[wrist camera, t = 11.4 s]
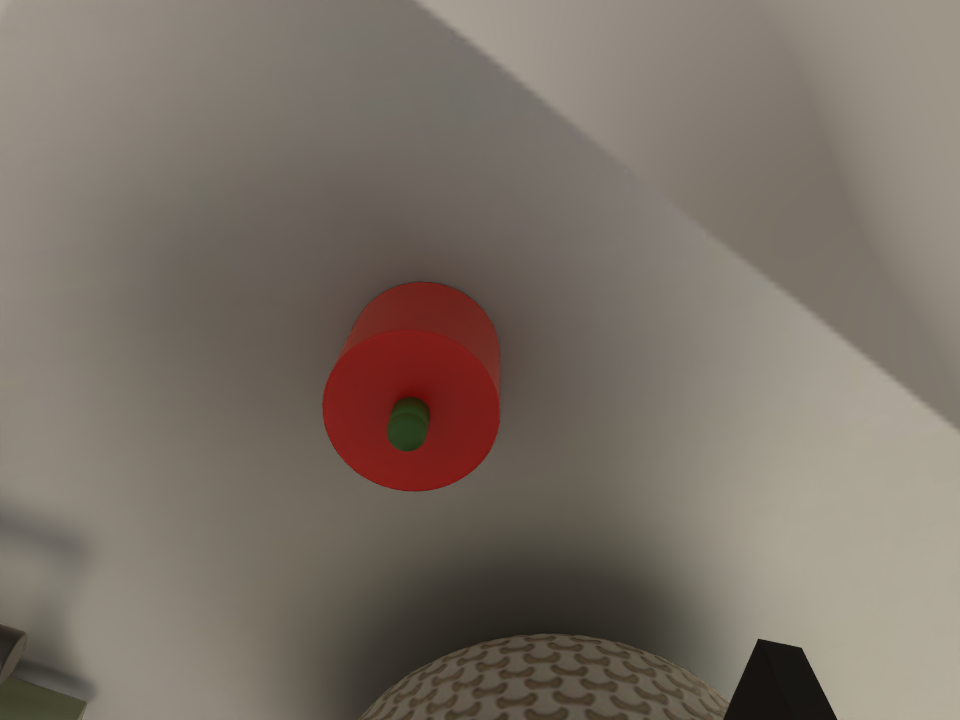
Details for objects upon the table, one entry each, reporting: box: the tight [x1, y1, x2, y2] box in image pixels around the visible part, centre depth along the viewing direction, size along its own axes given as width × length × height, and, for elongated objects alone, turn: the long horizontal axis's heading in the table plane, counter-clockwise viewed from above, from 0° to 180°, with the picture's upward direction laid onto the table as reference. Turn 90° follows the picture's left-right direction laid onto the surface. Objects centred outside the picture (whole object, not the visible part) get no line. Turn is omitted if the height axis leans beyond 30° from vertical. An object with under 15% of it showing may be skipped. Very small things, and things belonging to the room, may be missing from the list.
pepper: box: [322, 282, 500, 491], centre depth 23 cm, size 5×5×6 cm
